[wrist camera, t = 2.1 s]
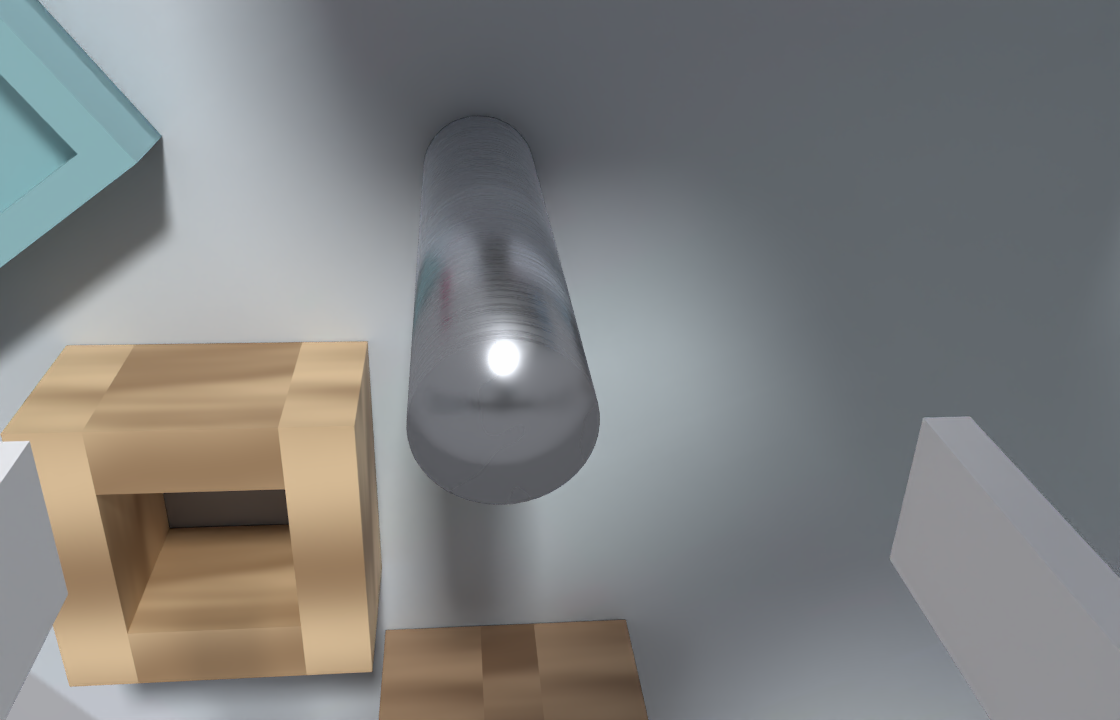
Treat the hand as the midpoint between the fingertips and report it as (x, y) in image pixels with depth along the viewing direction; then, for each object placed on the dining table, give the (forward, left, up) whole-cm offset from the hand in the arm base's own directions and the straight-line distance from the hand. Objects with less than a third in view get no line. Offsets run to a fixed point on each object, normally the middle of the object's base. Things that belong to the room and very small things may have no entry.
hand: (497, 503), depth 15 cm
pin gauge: (0, 0, -16) cm, 16 cm away
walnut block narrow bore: (+22, +1, -16) cm, 27 cm away
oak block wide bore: (+10, -8, -16) cm, 20 cm away
